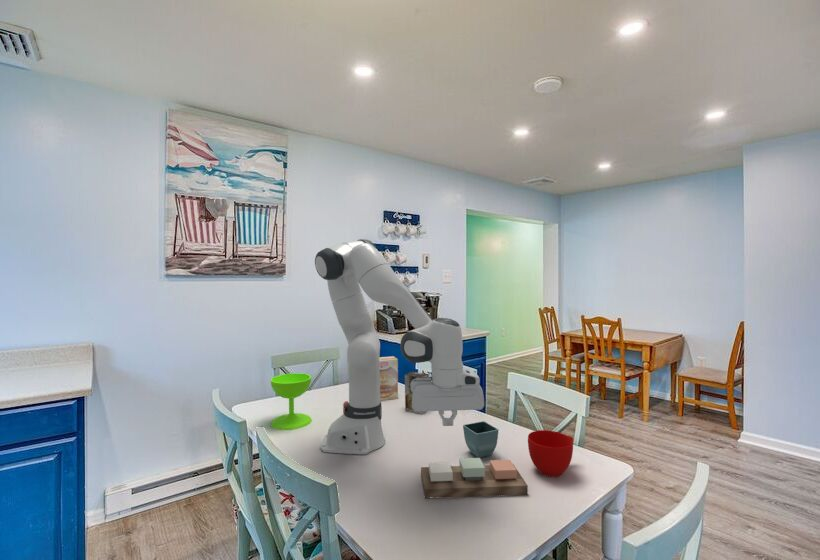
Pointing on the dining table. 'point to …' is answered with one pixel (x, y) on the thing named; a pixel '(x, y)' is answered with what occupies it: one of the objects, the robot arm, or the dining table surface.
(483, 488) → the button board
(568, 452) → the ceramic cup
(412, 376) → the coffee box
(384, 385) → the coffeecake box
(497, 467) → the pink square block
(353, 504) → the dining table surface
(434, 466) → the white square block
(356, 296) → the robot arm
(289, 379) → the wineglass
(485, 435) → the flower pot
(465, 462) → the sage tile
